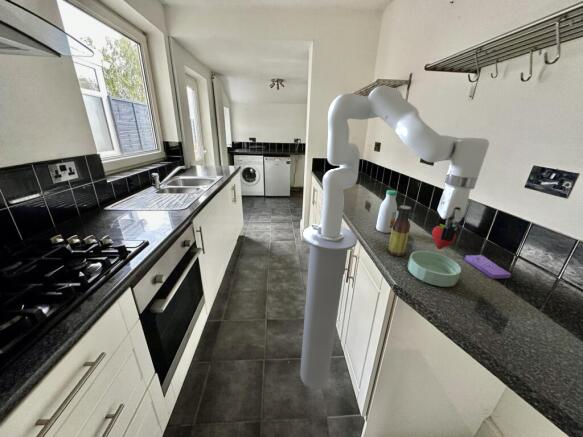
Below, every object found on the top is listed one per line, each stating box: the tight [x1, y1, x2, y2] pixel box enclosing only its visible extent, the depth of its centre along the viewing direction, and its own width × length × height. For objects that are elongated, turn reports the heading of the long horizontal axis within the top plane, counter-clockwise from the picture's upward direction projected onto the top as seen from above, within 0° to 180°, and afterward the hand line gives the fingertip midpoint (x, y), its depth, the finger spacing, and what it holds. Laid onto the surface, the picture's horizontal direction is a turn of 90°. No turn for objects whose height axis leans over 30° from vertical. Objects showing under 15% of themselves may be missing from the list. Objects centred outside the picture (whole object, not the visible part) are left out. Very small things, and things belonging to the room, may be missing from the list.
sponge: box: [464, 254, 512, 279], centre depth 86 cm, size 7×13×2 cm, turn 4°
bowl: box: [407, 250, 462, 288], centre depth 80 cm, size 15×15×5 cm
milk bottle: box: [375, 189, 398, 234], centre depth 111 cm, size 8×8×20 cm
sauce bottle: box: [388, 205, 412, 257], centre depth 90 cm, size 7×6×20 cm
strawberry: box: [431, 224, 457, 250], centre depth 75 cm, size 6×8×10 cm
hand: (443, 234), depth 75 cm, fingers closed on strawberry, 7 cm apart
